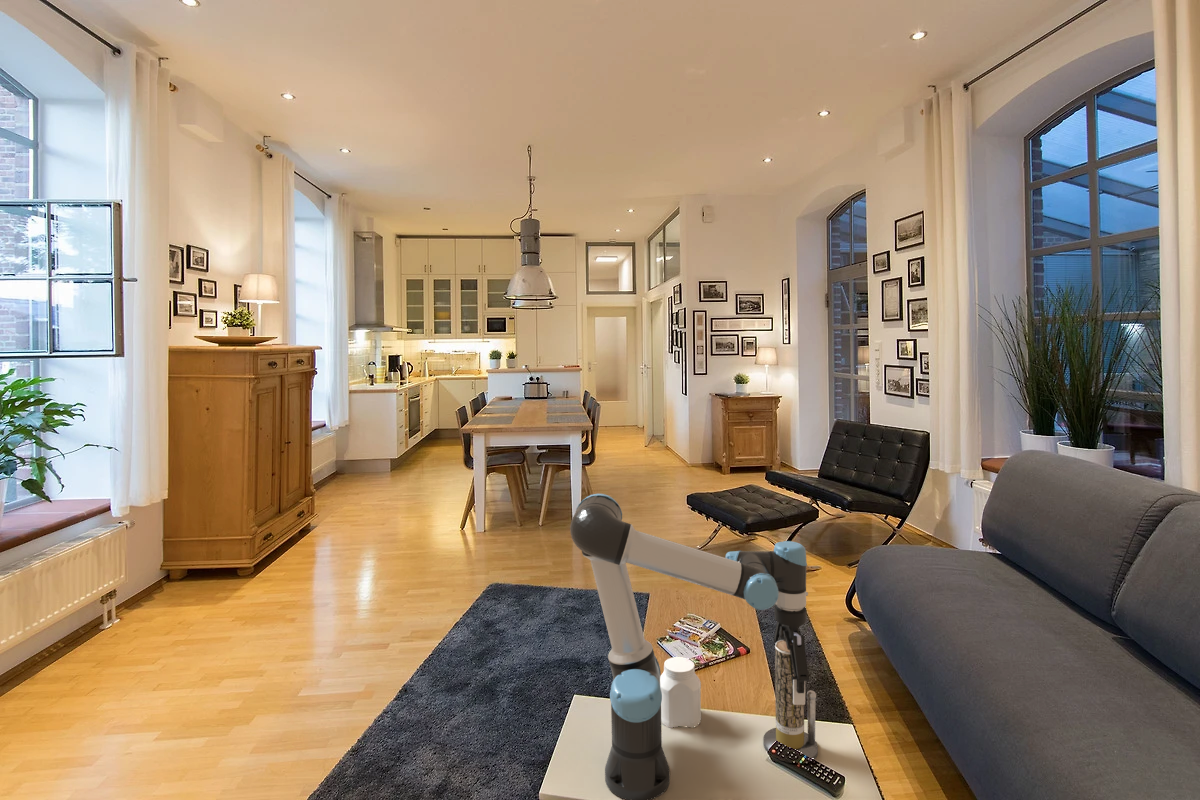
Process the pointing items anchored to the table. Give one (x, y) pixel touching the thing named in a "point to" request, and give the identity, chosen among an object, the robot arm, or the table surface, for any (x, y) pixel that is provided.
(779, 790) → the table surface
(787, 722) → the paper tube
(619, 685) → the robot arm
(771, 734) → the stand
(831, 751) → the table surface
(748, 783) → the table surface
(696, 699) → the jar
